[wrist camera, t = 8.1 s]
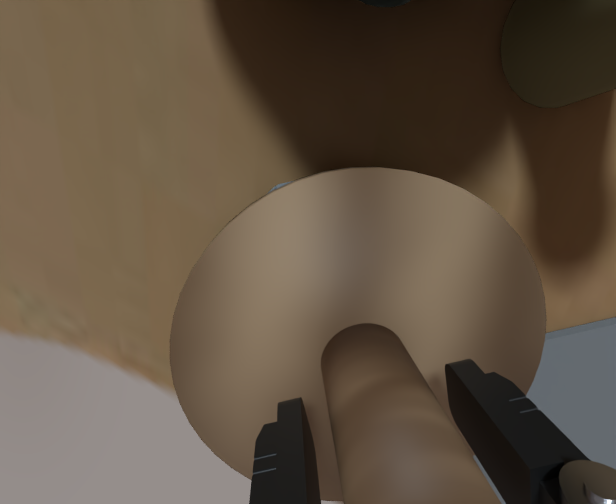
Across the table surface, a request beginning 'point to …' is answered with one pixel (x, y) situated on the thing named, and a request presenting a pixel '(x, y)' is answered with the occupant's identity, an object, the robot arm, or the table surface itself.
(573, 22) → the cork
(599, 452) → the mat
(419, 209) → the lid
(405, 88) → the table surface
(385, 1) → the squash
